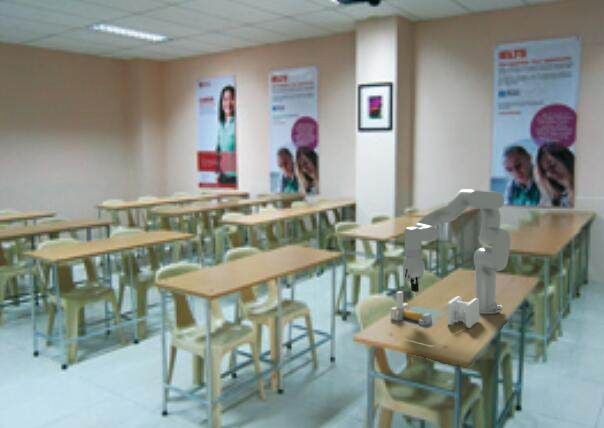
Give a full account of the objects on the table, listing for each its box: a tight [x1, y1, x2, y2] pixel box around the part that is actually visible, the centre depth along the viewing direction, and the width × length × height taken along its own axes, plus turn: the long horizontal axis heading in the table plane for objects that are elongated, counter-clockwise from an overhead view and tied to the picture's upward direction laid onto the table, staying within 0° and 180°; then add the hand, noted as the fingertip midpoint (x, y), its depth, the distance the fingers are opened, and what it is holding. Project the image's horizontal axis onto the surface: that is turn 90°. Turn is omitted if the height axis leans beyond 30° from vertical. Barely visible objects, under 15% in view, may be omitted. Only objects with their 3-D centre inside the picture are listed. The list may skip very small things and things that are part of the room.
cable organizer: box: [445, 295, 480, 329], centre depth 237 cm, size 15×11×12 cm
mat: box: [409, 306, 447, 320], centre depth 255 cm, size 18×12×1 cm, turn 45°
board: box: [389, 314, 441, 329], centre depth 243 cm, size 20×13×3 cm, turn 45°
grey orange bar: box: [397, 308, 431, 325], centre depth 243 cm, size 15×4×4 cm, turn 45°
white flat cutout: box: [390, 290, 410, 320], centre depth 248 cm, size 2×12×12 cm, turn 135°
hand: (414, 291), depth 242 cm, fingers closed
